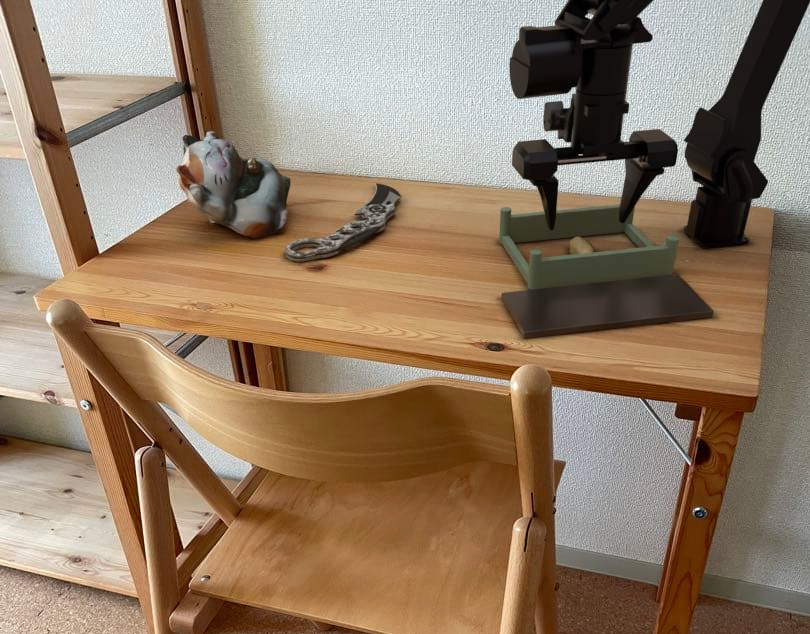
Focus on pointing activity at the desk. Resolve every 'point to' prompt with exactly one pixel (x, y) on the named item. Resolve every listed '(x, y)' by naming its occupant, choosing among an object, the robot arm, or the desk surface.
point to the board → (604, 305)
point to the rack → (584, 265)
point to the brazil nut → (580, 246)
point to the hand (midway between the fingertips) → (586, 225)
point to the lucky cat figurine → (233, 187)
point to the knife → (350, 228)
